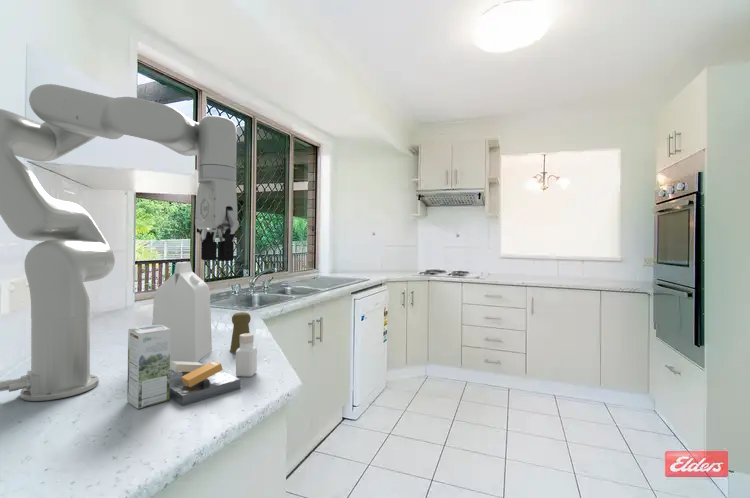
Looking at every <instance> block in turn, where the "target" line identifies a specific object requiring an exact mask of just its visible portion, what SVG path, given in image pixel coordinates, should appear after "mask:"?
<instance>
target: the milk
mask: <svg viewBox="0 0 750 498" xmlns="http://www.w3.org/2000/svg"><path fill="white" fill-rule="evenodd" d="M191 263H192V262H191V261H182V262H181V261H180V262H175V266H174V271H173V272H174V273H173V274H172V275H171V276H170V277H168V278H166V280H165V281H164V282H163V283H162V284H161V285H160V286H158V287H157V288H156V290H155V291H154V296H153V305H152V306H153V307H152V308H153V309H152V324H151V326H154V325H163V326H165V327H167V328H169V329H170V330H171V342H170V362H171V361H181V362H200V360H201V359H203V358H204V357H206V356H207V355H208V354H210V353H211V352H212V351H213V340H212V318H211V317H212V312H211V309H212V308H211V289H210V287H209V285H208V284H207V283H206V282H205V281H204V280H203V279H202V278H201V277H199V276H198V275H197V274H196V273H195V272H193V268H192V265H191Z"/></svg>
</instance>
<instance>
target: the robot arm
mask: <svg viewBox="0 0 750 498" xmlns="http://www.w3.org/2000/svg"><path fill="white" fill-rule="evenodd" d="M28 102H29V106H30V109H31V110H32V112H33V113H34V114H35V115H36V116H37V117H38V118H39V119H40V120H42V121H43V123H40V122H38V121H36V120H33V119H30V118H27V117H25V116H22V115H19V114H17V113H15V112H12V111H9V110H6V109H2V108H0V217H1V218H2V220H3V221H4V223H5V224H6V227H8V229H9V230H10V232H12V234H13V235H15V236H16V237H17V238H20V239H23V240H26V241H36V242H39V241H40V242H39V243H37V244H35V245H34V246H33V247H31V249H29V251H28V252H27V254H26V256H25V259H24V272H25V276H26V279H27V283H28V288H29V295H30V319H31V320H30V321H31V322H30V323H31V328H30V331H31V332H30V335H31V336H30V338H31V340H30V343H31V344H30V345H31V346H30V349H31V350H30V351H31V352H30V354H31V355H30V365H31V366H30V370H27V371H26V375H20V378H14V379H11V378H10V379H5V380H0V392H5V391H8V392H9V393H10V392H16V391H19V390H20V393H19V395H20V398H21V399H22V400H24V401H28V402H29V401H30V402H42V401H43V402H44V401H45V402H46V401H53V400H59V399H64V398H68V397H73V396H76V395H79V394H82V393H86V392H87V391H90V390H92V389H94V388H95V387H97V386H98V385H99V377H98V376H97V375H95V374H91V305H90V302H91V301H90V297H89V295H88V294H89V293H88V291H87V290H86V287H85V285H84V283H87V282H94V281H98V280H102V279H104V278H106V277H107V276H109V274H111V273H112V271H113V270H114V267H115V263H116V262H115V254H114V252H113V249H112V248H111V246H110V244H109V242H108V241H107V240H106V237H105V236H104V235H103V234H102V231H101V230H100V229H99V227H98V225H97V224H96V222H95V221H94V220H93V219H94V218H92V216H91V215H90V214H89V213H88V211H86V209H84V207H82V206H80V205H79V204H77V203H76V202H74V201H70V200H66V199H59V198H55V197H52V196H51V195H49V194H48V192H46V190H45V189H44V188H43V186H42V185H41V184H40V182H39V180H38V179H37V177H36V176H35V174H34V173H33V172H32V171H31V170H30V169H29V167H28V166H26V165H25V164H24V163H23V162H21V161H20V160H19V159H18V157H19V158H23V159H27V160H30V161H34V162H42V163H43V162H52V161H54V160H57V159H59V158H62V157H63V156H65V155H67V154H68V153H70V152H73V151H74V150H75V149H79V148H80V147H81V146H84V145H85V144H87V143H88V142H90V141H92V140H94V139H95V138H97V137H101V138H104V139H109V140H118V139H120V138H122V137H123V136H124V135H125V136H129V137H134V138H139V139H143V140H147V141H152V142H154V143H158V144H160V145H162V146H164V147H166V148H168V149H169V150H172V151H173V152H175V153H178V154H179V155H182V156H185V157H193V156H194V157H195V156H198V158H197V159H198V161H197V162H198V166H197V169H198V170H197V171H198V172H197V173H198V176H197V177H198V178H197V182H198V183H199V184H198V187H197V193H196V194H197V195H196V203H195V218H194V219H195V221H194V225H195V228H197V229H198V230H199V235H200V238H199V239H200V240H199V241H200V242H201V243H200V247H201V248H200V250H201V251H200V260H202V261H215V260H218V262H233V261H234V256H235V255H234V249H235V247H234V246H235V245H234V244H235V243H234V242H235V241H236V234H237V230H238V228H239V226H240V222H239V220H238V199H237V198H238V195H237V187H236V186H237V140H238V139H237V136H238V134H237V133H238V132H237V126H236V123H235V122H234V121H233V120H232V119H230V118H228V117H224V116H220V115H205V116H203V117H201V118H200V120H199V122H197V121H194V120H192V119H190V118H189V117H188V116H186V115H185V114H184V113H182V112H181V111H179V110H178V109H176V108H174V107H173V106H170V105H167V104H163V103H159V102H156V101H151V100H147V99H144V98H138V97H134V96H121V97H120V96H119V97H112V96H107V95H103V94H98V93H94V92H89V91H86V90H81V89H76V88H74V87H73V88H72V87H69V86H66V85H65V86H64V85H59V84H52V83H49V84H48V83H47V84H41V85H37V86H35V87H34V88H33V89H32V90H31V91H30V94H29V97H28ZM217 233H218V238H219V241H216V237H217Z"/></svg>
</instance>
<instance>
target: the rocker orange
mask: <svg viewBox="0 0 750 498" xmlns="http://www.w3.org/2000/svg"><path fill="white" fill-rule="evenodd" d="M205 364H206V365H204V366H202V367H200V368H198V369H196V370H194V371H192V372H190V373H188V374H186V375H184V376H182V377H181V378H182V381H183V384H185V385H187V386H189V387H192V386H193V385H195V384H197V383H199V382H201V381H203V380H205V379H207V378H208V377H210V376H212V375H214V374H216V373H218V372H220V371H223V367H222V364H221V362H219V361H215V360H212V361H210V362H208V363H205Z"/></svg>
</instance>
